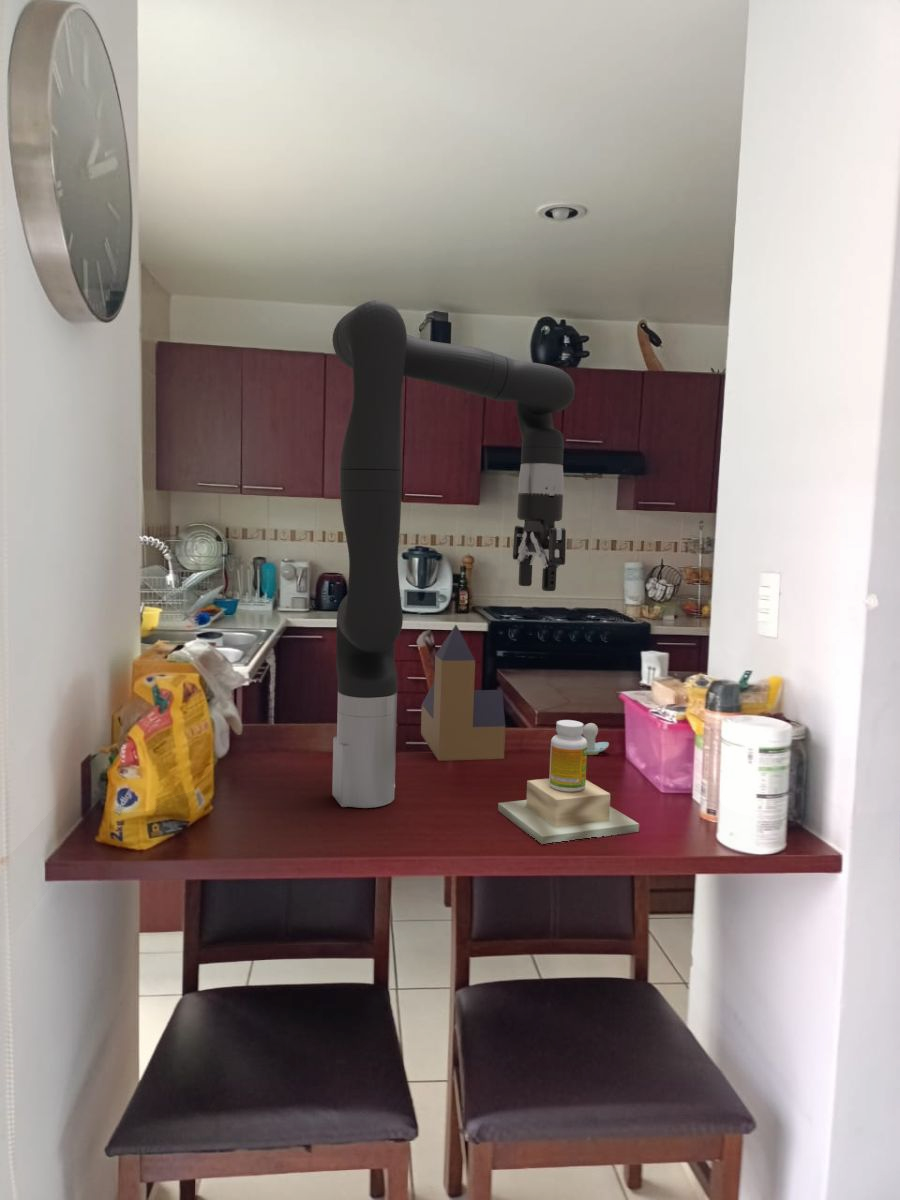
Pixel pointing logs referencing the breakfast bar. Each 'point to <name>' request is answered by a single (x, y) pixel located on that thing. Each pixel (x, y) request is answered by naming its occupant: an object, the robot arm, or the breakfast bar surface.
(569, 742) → the supplement bottle
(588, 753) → the pacifier
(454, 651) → the toy building blocks
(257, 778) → the breakfast bar surface
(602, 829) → the pedestal base
